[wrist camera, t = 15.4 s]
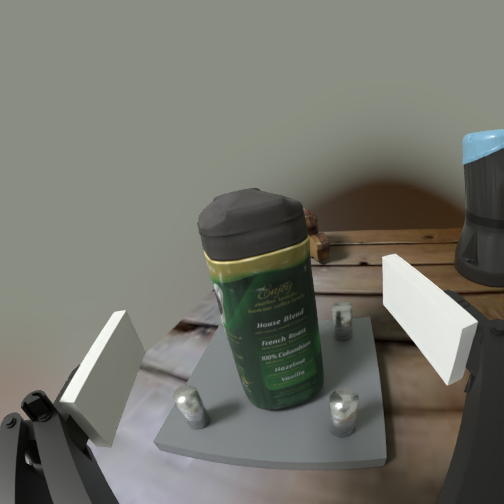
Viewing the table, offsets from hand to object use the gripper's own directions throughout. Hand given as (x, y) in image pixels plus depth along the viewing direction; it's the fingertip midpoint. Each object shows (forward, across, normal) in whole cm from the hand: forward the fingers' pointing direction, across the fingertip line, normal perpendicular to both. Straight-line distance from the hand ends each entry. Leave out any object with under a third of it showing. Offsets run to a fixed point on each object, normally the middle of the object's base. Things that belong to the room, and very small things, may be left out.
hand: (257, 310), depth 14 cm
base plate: (+10, 0, -16) cm, 19 cm away
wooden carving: (+45, +11, -16) cm, 49 cm away
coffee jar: (+10, 0, -14) cm, 17 cm away
